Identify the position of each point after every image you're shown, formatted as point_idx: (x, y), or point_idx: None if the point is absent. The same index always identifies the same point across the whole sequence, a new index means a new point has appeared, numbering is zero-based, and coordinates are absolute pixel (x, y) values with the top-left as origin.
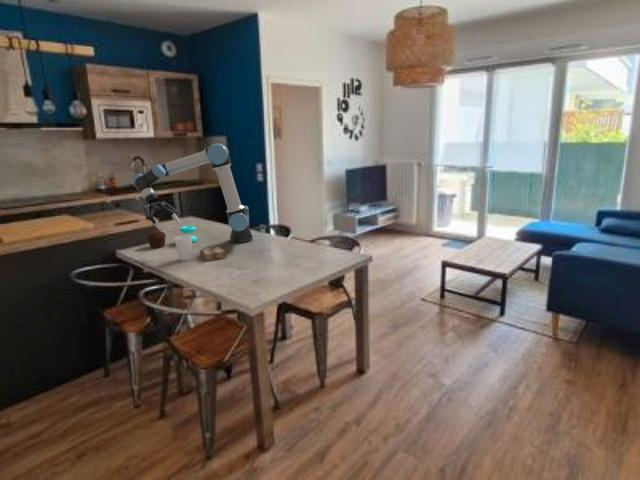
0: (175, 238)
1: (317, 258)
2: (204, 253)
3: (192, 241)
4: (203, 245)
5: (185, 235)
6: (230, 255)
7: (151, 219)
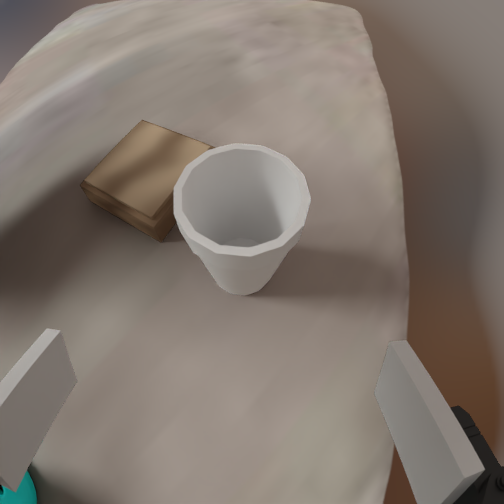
0: (299, 218)
1: (99, 26)
2: None
3: None
4: None
5: (186, 221)
6: None
7: (488, 465)
